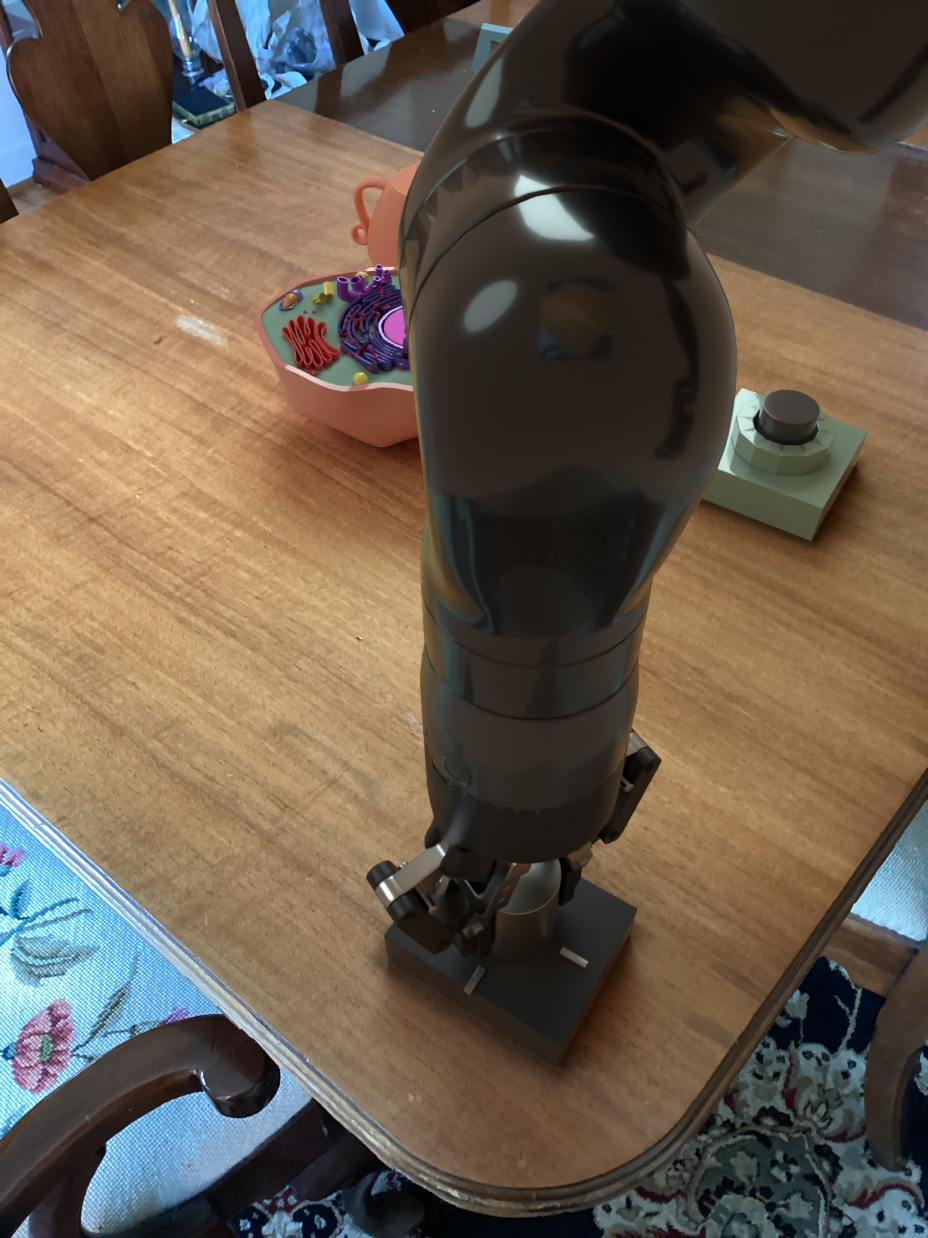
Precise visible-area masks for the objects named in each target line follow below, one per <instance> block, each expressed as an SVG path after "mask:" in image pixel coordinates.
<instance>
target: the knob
mask: <svg viewBox="0 0 928 1238" xmlns="http://www.w3.org/2000/svg"><path fill="white" fill-rule="evenodd" d="M560 882H561V866H560V862H559V859H556V860H552V861H548V862H543V863H534V864H532V865H531V868H530V870H529V872H528V873H526V874H524V875H522V876H521V877H520V879H519V881H518V883H517V886H516V888H515V890H514V892H513V894H512V897H511V899H510V901H509V903H508V905H507V906H505V907H503V908H501V909H499V910H497V911H495V912H494V913H493V915H492V917H491V919H490V922H491V923H492V939H491V953H490V954H489V956H491V957H493V958H495V959H498V960H500V961H505V962H521V961H525V960H528V959H531V958H533V957H535V956H536V955H538V954H539V953H540V952H541V951H543V949H544V948H545V947H546V946H547V944H548V943H549V941H550V939H551V937H552V934H553V929H554V923H555V916H556V909H557V903H558V896H559V889H560Z"/></svg>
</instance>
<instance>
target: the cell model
mask: <svg viewBox="0 0 928 1238" xmlns="http://www.w3.org/2000/svg"><path fill="white" fill-rule="evenodd" d="M254 326H255V330H256V332H257V335H258V337H259V339H260V341H261V343H262V345H263V347H264V350H265V351H266V353H267V355H268V357H269V359H270V361H271V364H272V366H273V368H274V370H275V373H276V375H277V378H278V382H279V385H280V388H281V390H282V392H283V395H284V397H285V399H286V402H287V404H288V406H289V407H290V408H291V410H293V411H294V412H295V413H297V414H299V415H300V416H303V417H305V418H307V419H310V420H313V421H315V422H318V423H321V424H323V425H325V426H328V427H331V428H333V429H335V430H337V431H339V432H341V433H343V434H344V435H346V436H349V437H350V438H352V439H355V440H358V441H360V442H363V443H365V444H366V445H367V444H368V445H369V446H372V447H376V448H377V447H378V448H388V447H391V446H393V445H396V444H399V443H402V442H404V441H406V440H413V439H419V436H418V428H417V419H416V411H415V402H414V394H413V385H412V378H411V371H410V364H409V354H408V346H407V338H406V331H405V323H404V316H403V308H402V300H401V294H400V286H399V279H398V270H397V267H383V266H382V265H381V264H378V265H376V267H375V266H373V267H364V268H363V267H362V268H357V269H351V270H346V271H340V272H333V273H327V274H321V275H316V276H311V277H307V278H304V279H300V280H298V281H296V282H294V283H292V284H291V285H289V286H288V287H287V288H285V289H283V290H282V291H280V292H279V293H278V294H277V295H275V296H273V298H271V299H270V300H268V301H267V302H266V303H264V304H263V305H262V306H261V308H259V310H258V312H256V314H255V317H254Z"/></svg>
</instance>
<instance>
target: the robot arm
mask: <svg viewBox="0 0 928 1238" xmlns="http://www.w3.org/2000/svg"><path fill="white" fill-rule="evenodd" d="M520 19H521V20H520ZM520 19H519V20H520V22H519V21H518V22H519V23H518V22H517V23H518V24H517V23H516V24H515V26H514V27H512V28H513V30H512V31H511V32H510V33H509V34H508V35H507V36H506V38H505V39H504V40H503V41H502V42H501V43H499V45H498V46H497V47H496V48H495V49H494V51H492V53H490V54H489V58H488V59H487V60H486V62H485V63H484V64H483V65H482V67H481V68H480V69H479V70H478V72H477V73H476V74H473V76H472V78H471V79H470V80H469V82H468V83H467V84H466V86H465V87H464V88H463V90H462V92H461V93H459V96H458V97H457V99H456V100H455V101H454V103H453V105H452V106H451V108H450V109H449V111H448V112H447V114H446V115H445V117H444V118H443V120H442V122H441V123H440V125H439V127H438V128H437V130H436V132H435V134H434V135H433V137H432V139H431V141H430V142H429V144H428V146H427V148H426V150H425V152H424V154H423V156H422V158H421V162H420V164H419V166H418V168H417V170H416V173H415V175H414V178H413V180H412V182H411V185H410V187H409V190H408V192H407V195H406V198H405V202H404V205H403V209H402V212H401V216H400V221H399V228H398V235H397V246H396V261H397V270H398V279H399V286H400V294H401V300H402V308H403V316H404V323H405V331H406V338H407V346H408V354H409V364H410V371H411V378H412V385H413V394H414V402H415V411H416V419H417V428H418V436H419V437H418V445H419V454H420V461H421V462H420V463H421V470H422V478H423V487H424V496H425V497H424V498H425V507H426V515H425V520H424V524H423V528H422V534H421V544H420V556H419V558H420V559H419V562H420V565H419V566H420V567H419V568H420V571H419V572H420V575H419V576H420V594H421V609H422V611H421V612H422V623H423V624H422V627H423V648H422V653H421V661H420V671H419V693H420V706H421V707H420V708H421V709H420V710H421V719H422V720H421V722H422V735H423V750H424V751H423V752H424V761H425V762H424V763H425V764H424V766H425V777H426V787H427V789H426V790H427V795H428V797H429V804H430V808H431V811H432V816H433V817H432V818H433V819H432V821H431V823H430V825H429V826H428V828H427V830H426V832H425V834H424V840H423V845H424V848H425V850H423V851H422V852H421V853H419V854H418V855H417V856H416V857H414V858H413V859H412V860H411V861H409V862H408V861H403V862H401V863H400V864H399V865H398V866H397V865H396V864H395V863H394V862H392V861H391V860H390V859H389V860H387V859H386V860H383V861H380V862H378V863H377V864H375V865H373V866H372V867H371V868H370V869H369V871H367V873H366V875H365V879H366V881H367V882H368V884H369V886H370V887H371V889H372V891H373V892H374V893H375V895H376V897H377V898H378V900H379V901H380V904H381V905H382V906H383V908H384V909H385V911H386V913H387V914H388V915H389V917H390V919H391V920H392V921H393V922H394V923H395V924H396V926H397V927H398V928H399V929H400V930H401V931H403V932H404V933H405V934H407V935H408V936H409V937H410V938H412V939H413V940H414V941H416V942H417V943H418V944H420V945H421V946H422V947H423V948H425V949H426V950H427V951H429V952H430V953H431V954H433V955H436V954H439V953H441V952H444V951H445V950H447V949H448V948H449V947H450V945H451V944H452V943H453V944H454V945H455V947H456V948H457V950H458V951H459V953H460V954H461V955H462V956H463V957H465V958H466V957H468V956H470V955H471V954H473V956H474V957H475V958H476V960H478V961H479V960H481V959H483V958H484V957H486V956H487V955H489V954H490V953H491V939H492V923H491V922H490V919H491V917H492V915H493V913H494V912H495V911H497V910H499V909H501V908H503V907H505V906H507V905H508V903H509V901H510V899H511V897H512V894H513V892H514V890H515V888H516V886H517V883H518V881H519V879H520V877H521V876H522V875H524V874H526V873H528V872H529V870H530V868H531V865H532V864H534V863H543V862H548V861H552V860H556V859H559V862H560V866H561V882H560V889H559V896H558V903H557V904H558V905H559V906H563V905H564V904H566V903H568V902H569V901H571V900H572V899H573V897H574V891H575V886H577V884H578V882H579V881H580V879H581V877H582V873H583V868H584V867H586V866H587V865H588V864H589V862H590V861H591V860H592V858H593V855H594V853H593V851H592V849H593V848H594V847H593V845H595V844H596V843H597V842H599V841H600V840H601V842H602V843H603V844H604V845H610V844H612V843H613V842H616V841H617V840H619V839H620V837H621V835H622V834H623V833H624V832H625V829H626V827H627V826H628V824H629V823H630V820H631V818H632V817H633V815H634V813H635V811H636V809H637V808H638V806H639V804H640V802H641V800H642V799H643V797H644V795H645V793H646V791H647V790H648V788H649V785H650V784H651V782H652V781H653V779H654V777H655V775H656V772H657V771H658V769H660V765H661V764H662V761H663V760H662V758H661V757H660V756H659V755H658V754H657V753H656V751H655V750H654V749H652V747H651V746H650V745H649V744H648V743H647V742H646V741H645V740H644V739H643V738H642V736H641V735H639V733H638V732H637V731H636V730H635V729H634V728H633V724H634V719H635V715H636V710H637V704H638V698H639V690H640V650H641V646H642V641H643V637H644V636H643V635H644V631H645V624H646V621H647V620H646V619H647V615H648V610H649V604H650V599H651V594H652V587H653V583H654V577H655V576H656V574H657V573H658V572H659V570H660V569H661V568H662V567H663V565H664V563H665V562H666V561H667V559H668V558H669V556H670V555H671V553H672V551H673V549H674V547H675V546H676V545H677V543H678V541H679V540H680V537H681V535H682V534H683V533H684V531H685V528H686V527H687V525H688V524H689V522H690V520H691V518H692V517H693V515H694V513H695V511H696V510H697V508H698V506H699V504H700V503H701V501H702V500H703V499H702V497H703V496H704V494H705V492H706V490H707V489H708V487H709V485H710V483H711V481H712V479H713V477H714V475H715V473H716V471H717V469H718V467H719V464H720V461H721V459H722V456H723V453H724V450H725V447H726V443H727V439H728V436H729V432H730V427H731V421H732V416H733V410H734V402H735V396H736V391H737V382H738V381H737V380H738V348H737V347H738V345H737V337H736V328H735V322H734V319H733V314H732V310H731V307H730V302H729V299H728V297H727V294H726V292H725V290H724V287H723V285H722V283H721V280H720V278H719V276H718V274H717V273H716V271H715V269H714V267H713V265H712V262H711V261H710V259H709V257H708V255H707V254H706V252H705V250H704V248H703V246H702V244H701V242H700V240H699V238H698V236H697V234H696V232H695V230H694V229H695V227H696V226H697V225H698V224H699V222H701V220H702V218H703V217H705V216H706V214H707V213H708V212H709V211H710V210H711V209H712V208H713V207H714V206H715V205H716V204H717V203H718V202H719V201H720V200H721V199H722V198H723V197H725V196H726V195H727V194H728V193H730V191H731V190H733V189H734V188H735V187H736V186H737V185H739V184H740V183H741V182H742V181H743V180H744V179H746V178H747V177H748V176H749V175H750V174H752V173H753V172H754V171H755V170H756V169H758V168H759V167H760V166H761V165H763V164H764V163H765V162H766V161H767V160H768V159H770V158H771V157H772V156H773V155H774V154H775V153H777V152H778V151H779V150H781V149H782V148H784V147H785V146H786V145H788V144H789V143H790V142H792V141H794V140H795V139H797V138H799V139H801V140H803V141H805V142H806V143H809V144H811V145H814V146H817V147H820V148H822V149H825V150H829V151H832V152H836V153H839V154H842V155H852V156H853V155H855V156H856V155H871V154H876V153H879V152H882V151H885V150H889V149H890V148H892V147H894V146H896V145H898V144H900V143H901V142H903V141H905V140H907V139H908V138H909V137H911V136H912V135H913V134H916V133H917V132H918V131H919V130H921V129H922V128H924V126H925V125H927V124H928V0H537V1H536V2H535V3H534V4H533V5H532V6H531V7H530V9H529V10H527V12H526V13H525V14H524V16H523V17H521V18H520ZM442 875H443V878H442V880H441V883H440V886H439V888H438V891H437V895H438V896H436V897H434V898H432V896H433V895H434V893H435V892H436V887H435V884H436V882H437V880H438V879H439V878H440V877H441V876H442Z"/></svg>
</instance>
